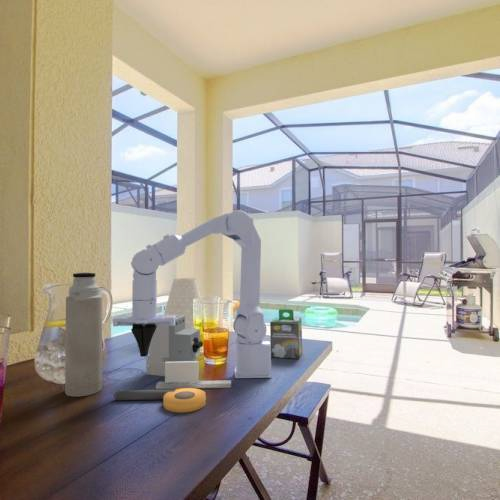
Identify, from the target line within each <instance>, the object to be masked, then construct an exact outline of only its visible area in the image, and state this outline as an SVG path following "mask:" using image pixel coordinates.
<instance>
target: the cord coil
mask: <svg viewBox="0 0 500 500" xmlns="http://www.w3.org/2000/svg"><path fill="white" fill-rule="evenodd" d="M175 390H176V391H174V392H168V393H166V394H165V395H164V397H163V399H162V400H163V401H162V402H163V408H164V409H165V410H167V411H168V412H171V413H178V414H179V413H191V412H195V411H198V410H200V409H203V407H205V406H206V404H207V401H206V400H207V395H206V392H205V391H204V390H202V389H201V388H182V389H175Z"/></svg>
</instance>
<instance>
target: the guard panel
mask: <svg viewBox="0 0 500 500" xmlns="http://www.w3.org/2000/svg"><path fill="white" fill-rule="evenodd" d="M198 381H199V360H194V361H177V362H165V376H164V382H165V383H166V382H198Z"/></svg>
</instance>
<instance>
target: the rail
mask: <svg viewBox="0 0 500 500" xmlns="http://www.w3.org/2000/svg"><path fill="white" fill-rule="evenodd" d="M155 384H156V385H155V390H176V389H182V388H195V389H231V388H232V379H231V380H225V379H224V380H222V379H221V380H198V382H166V383H165V381H157V383H155Z"/></svg>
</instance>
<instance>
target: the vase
mask: <svg viewBox="0 0 500 500" xmlns="http://www.w3.org/2000/svg"><path fill="white" fill-rule="evenodd" d="M172 280H173V281H172V285H171V288H170V291H169V295H168V298H167V301H166V306H165V309H164V313H163V315H182V316H185V329H194V328H193V327H194V324H193V299H194V298H202V294H201V292H200V287H199V285H198V281H197V278H193V277H192V278H190V277H189V278H187V277H185V278H183V277H181V278H179V277H178V278H173V279H172Z"/></svg>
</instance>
